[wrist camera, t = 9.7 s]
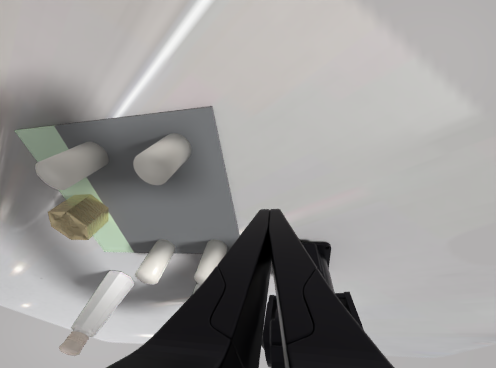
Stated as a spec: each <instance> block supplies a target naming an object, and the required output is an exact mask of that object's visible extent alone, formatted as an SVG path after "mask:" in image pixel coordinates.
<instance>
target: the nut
mask: <svg viewBox="0 0 496 368" xmlns="http://www.w3.org/2000/svg"><path fill="white" fill-rule="evenodd" d="M108 214H109V208H108V207H107V206H105V205H104V204H103V203H101V202H100V201H99V200H98V199H96V198H95V197H94V196H93V195H91V194H85V195H73V196H72V197H70V198H69V199H67V200H66V201H64V202H62V203H61V204H59V205H58V206H56V207H55V208H53V209H52V210H50V211H49V212H48V215H49V219H50V223H51V227H53V228H54V229H56V230H57V231H59V232H60V233H62V234H63V235H65V236H66V237H68V238H69V239H71V240H89V239H90V238H91V237H92V236H93V235H94V234H95V233H96V232H97V231H98V230H99V229H100V228H102V227H103V226H104V225H105V224H106V223H107V222H108Z"/></svg>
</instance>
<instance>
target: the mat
mask: <svg viewBox="0 0 496 368" xmlns="http://www.w3.org/2000/svg"><path fill="white" fill-rule="evenodd" d="M15 132H16V134H17V135H18V137H19V138H20V139H21V141H22V142H23V143H24V145H25V146H26V147H27V149H28V150H29V151H30V153H31V154H32V155H33V157H34V158H35V159H36V161H37V162H39V161H42V160H44V159H47V158H49V157H52V156H54V155H56V154H59V153H61V152H64V151H66V150H68V149H71V148H73V147H76V146H78V145H80V144H83V143H85V142H94V143H96V144H98V145H100V146H101V147H102V148H103V149H104V150H105V151H106V153H107V155H108V158H109V161H108V164H107V165H106V166H104V167H102V168H101V169H99V170H97V171H96V172H94V173H92V174H91V175H89V176H87V177H86V178H84V179H82V180H81V181H79V182H77V183H76V184H74V185H72V186H71V187H69V188H67V189H65V190H59V191H60V193H61V194H62V195H63V197H64V198H65V199H66V200H67V199H69V198H70V197H72V196H73V195H85V194H91V195H93V196H94V197H95V198H96V199H98V200H99V201H100V202H101V203H103V204H104V205H105V206H107V207H108V208H109V214H108V222H107V223H106V224H105V225H104V226H103V227H102V228H100V229H99V230H98V231H97V232H96V233H95V234H94V235H93V237H94V238H95V240H96V241H97V242H98V244H99V245H100V246H101V248H102V249H103V250H104V252H134V253H149V252H150V251H151V249H152V248H153V246H154V245H155V243H156V242H157V241H158V240H160V239H164V240H168V241H170V242H171V243H173V244H174V246H175V252H174V253H187V254H203V253H204V250H205V247H206V245H207V242H208V241H210V240H220V241H222V242H224V243H225V244H226V245H227V252H228V251H229V249H230V248H231V247H232V245H233V244H234V243H235V242H236V240H237V239H238V238H239V236H240V235H239V230H238V226H237V221H236V216H235V212H234V207H233V202H232V197H231V193H230V188H229V183H228V178H227V174H226V169H225V164H224V160H223V155H222V150H221V145H220V141H219V136H218V131H217V126H216V122H215V117H214V112H213V108H212V106H210V107H201V108H193V109H185V110H177V111H168V112H160V113H152V114H144V115H135V116H127V117H119V118H111V119H102V120H94V121H86V122H77V123H69V124H61V125H53V126H44V127H36V128H28V129H20V130H15ZM171 133H177V134H180V135H182V136H184V137H185V138H186V139H187V140H188V142H189V143H190V145H191V155H190V157H189V158H188V159H187V160H186V161H185V162H184V163H183V164H182V165H181V166H180V167H179V169H178V170H177V171H176V172H175V173H174V174H173V175H172V176H171V177H170V178H169V179H168V180H167V181H166V182H165V183H164V184H162V185H152V184H149V183H147V182H145V181H143V180H142V179H141V178H140V177H139V176H138V175H137V173H136V172H135V169H134V166H133V162H134V158H135V157H136V156H137V155H138V154H140V153H141V152H143V151H144V150H146V149H147V148H149V147H150V146H152V145H153V144H155V143H156V142H158V141H159V140H161V139H162V138H164V137H165V136H167V135H169V134H171ZM227 252H226V253H227Z"/></svg>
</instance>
